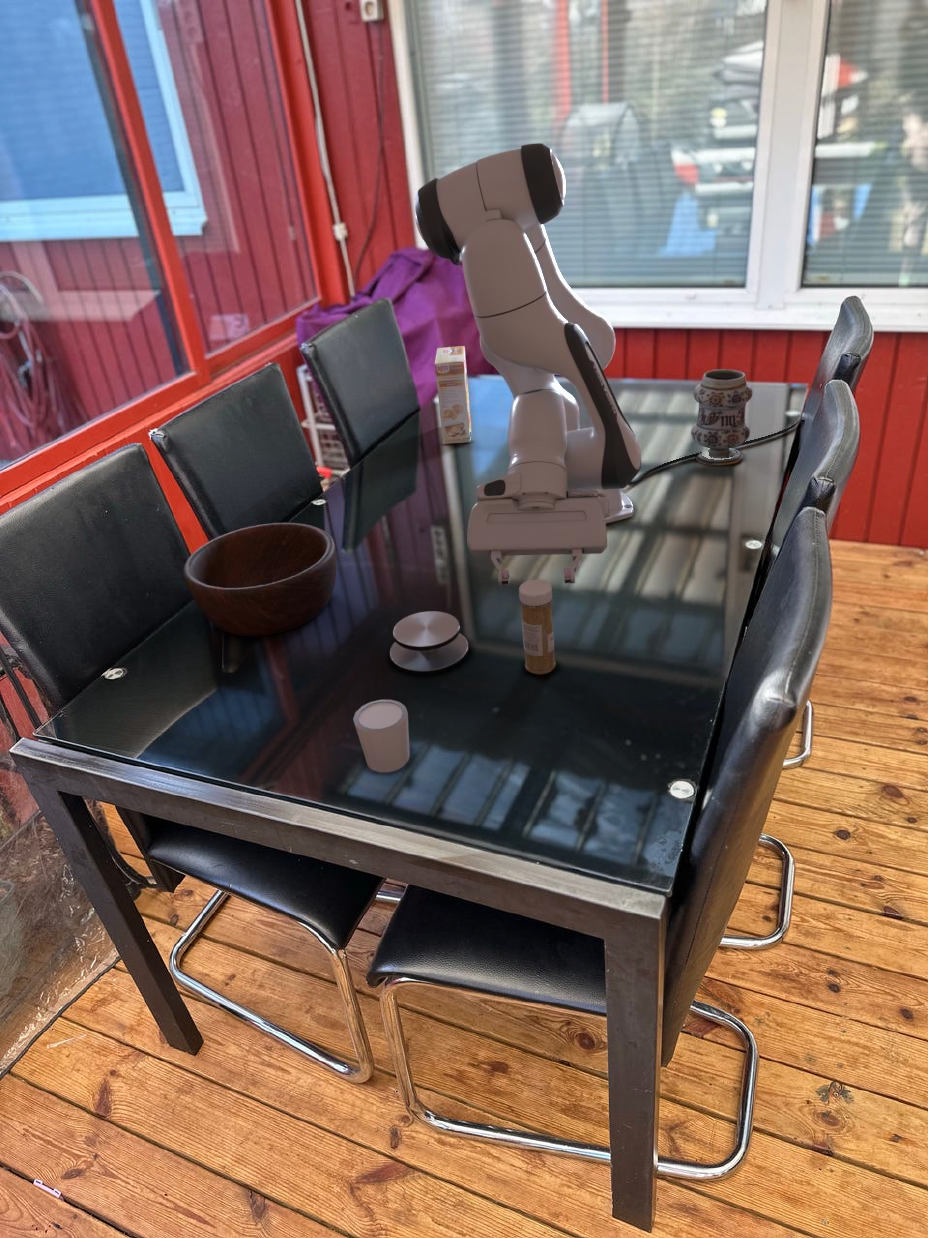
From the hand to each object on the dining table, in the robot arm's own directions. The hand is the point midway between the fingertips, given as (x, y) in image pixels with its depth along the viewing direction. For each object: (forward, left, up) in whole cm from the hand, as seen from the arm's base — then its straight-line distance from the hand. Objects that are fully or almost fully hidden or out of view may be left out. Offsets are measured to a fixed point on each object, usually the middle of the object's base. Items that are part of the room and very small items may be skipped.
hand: (536, 582), depth 127 cm
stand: (+16, -5, -11) cm, 20 cm away
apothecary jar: (-56, -61, -12) cm, 83 cm away
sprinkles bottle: (+1, +4, -12) cm, 13 cm away
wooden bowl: (+40, -28, -12) cm, 50 cm away
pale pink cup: (+25, +18, -12) cm, 33 cm away
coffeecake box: (-6, -101, -12) cm, 102 cm away
